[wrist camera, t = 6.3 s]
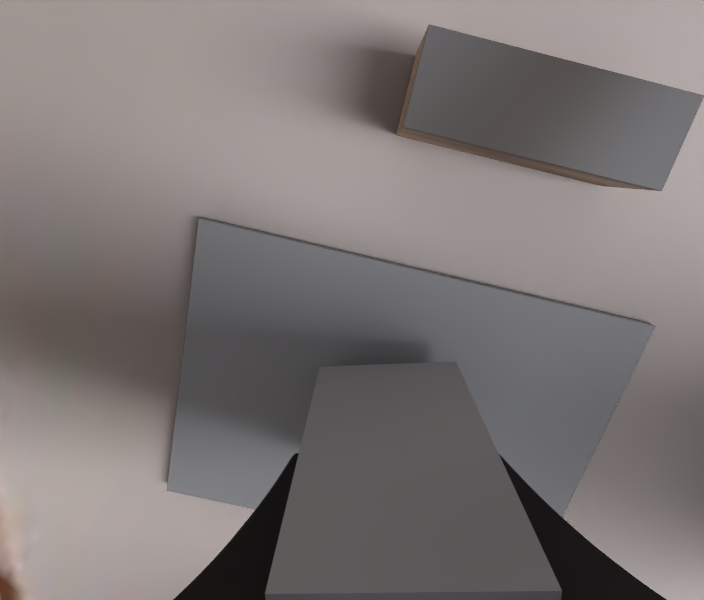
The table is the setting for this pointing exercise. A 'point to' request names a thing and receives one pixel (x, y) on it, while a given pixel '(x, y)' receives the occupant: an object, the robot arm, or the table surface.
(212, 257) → the rubber mat
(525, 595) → the gray block
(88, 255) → the table surface
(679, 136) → the wooden blocks
